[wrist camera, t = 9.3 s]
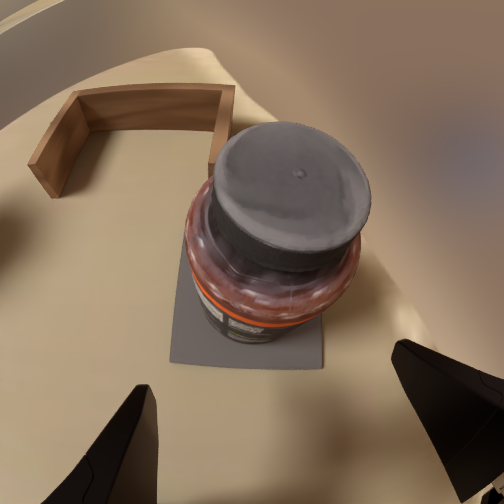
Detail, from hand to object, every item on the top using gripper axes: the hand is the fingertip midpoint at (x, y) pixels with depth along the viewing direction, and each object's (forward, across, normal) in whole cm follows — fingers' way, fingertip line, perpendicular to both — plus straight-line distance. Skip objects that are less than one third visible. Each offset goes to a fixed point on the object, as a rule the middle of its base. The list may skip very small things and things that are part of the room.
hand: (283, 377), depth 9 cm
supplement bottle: (+10, 0, +3) cm, 10 cm away
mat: (+10, 0, +3) cm, 11 cm away
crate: (+20, +8, -7) cm, 22 cm away
